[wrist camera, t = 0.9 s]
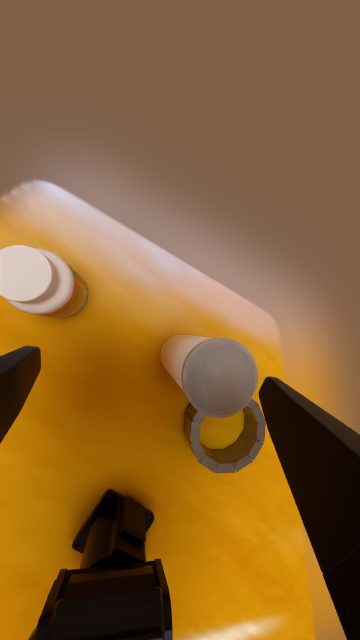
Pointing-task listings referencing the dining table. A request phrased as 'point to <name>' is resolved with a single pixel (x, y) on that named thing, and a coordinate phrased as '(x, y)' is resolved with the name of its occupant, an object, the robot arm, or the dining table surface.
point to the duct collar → (235, 453)
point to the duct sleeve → (211, 372)
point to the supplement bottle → (40, 282)
